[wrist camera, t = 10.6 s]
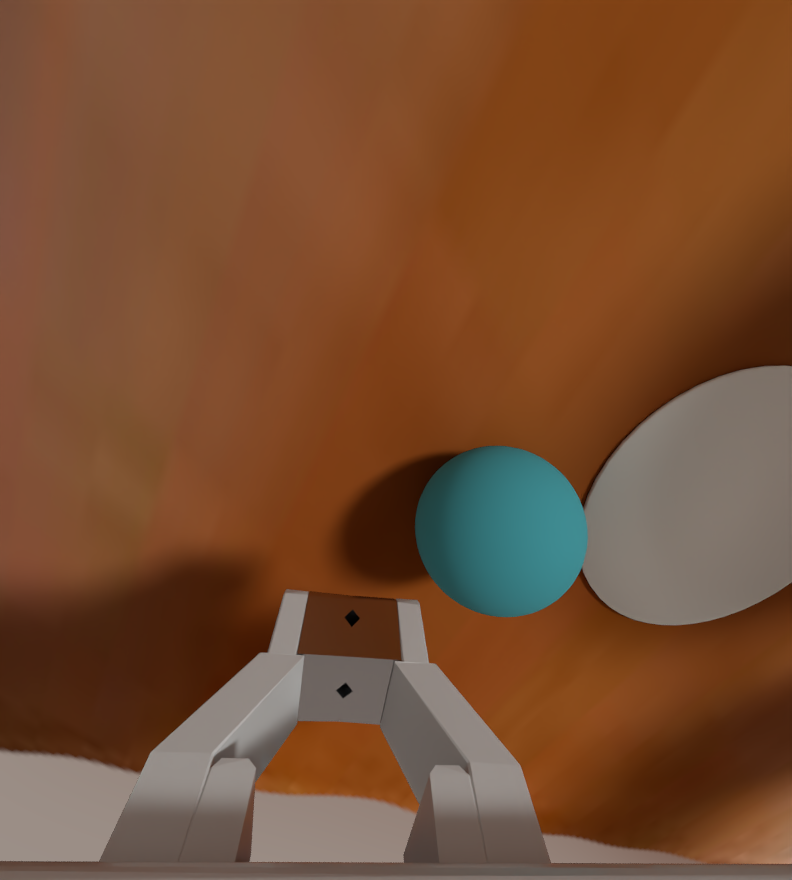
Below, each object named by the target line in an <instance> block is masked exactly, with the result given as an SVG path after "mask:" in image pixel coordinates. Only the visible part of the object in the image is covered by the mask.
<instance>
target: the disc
mask: <svg viewBox="0 0 792 880" xmlns="http://www.w3.org/2000/svg"><path fill="white" fill-rule="evenodd" d="M583 510H584V513H585V517H586V522H587V529H588V543H587V550H586V555H585V559H584V563H583V565H582V570H583V573H584V575H585V577H586V579H587V581H588V583H589V585H590V586H591V588H592V589H593V590H594V592H595V593H596V594H597V595H598V597H599V598H600V599H601V600H602V601H603V602H604V603H606V604H607V605H608V606H609V607H610V608H612V609H613V610H615V611H617V612H618V613H620V614H622V615H624V616H626V617H629V618H631V619H634V620H637V621H641V622H645V623H651V624H658V625H685V624H695V623H700V622H705V621H710V620H714V619H717V618H721V617H725V616H728V615H730V614H733V613H736V612H739V611H741V610H744V609H746V608H748V607H750V606H752V605H754V604H757V603H759V602H761V601H762V600H764V599H766V598H768V597H770V596H771V595H773V594H775V593H776V592H778V591H779V590H781V589H783V588H784V587H786V586H787V585H789V584H790V583H791V582H792V366H785V365H779V366H760V367H754V368H748V369H742V370H738V371H735V372H732V373H728V374H725V375H721V376H718V377H716V378H714V379H711V380H709V381H706V382H704V383H702V384H699V385H697V386H695V387H693V388H691V389H690V390H688V391H686V392H684V393H682V394H680V395H679V396H677V397H675V398H674V399H672V400H671V401H669V402H668V403H666V404H665V405H663V406H662V407H660V408H659V409H657V410H656V411H655V412H654V413H652V414H651V415H650V416H649V417H648V418H646V419H645V420H644V421H643V422H642V423H640V424H639V425H638V426H637V427H636V428H635V429H634V430H633V431H632V432H631V433H630V434H629V435H628V436H627V437H626V438H625V439H624V440H623V441H622V442H621V444H620V445H619V446H618V447H617V449H616V450H615V451H614V452H613V454H612V455H611V456H610V457H609V459H608V460H607V462H606V463H605V465H604V466H603V468H602V469H601V471H600V472H599V474H598V476H597V477H596V479H595V481H594V483H593V485H592V487H591V489H590V491H589V493H588V496H587V499H586V502H585V504H584V507H583Z"/></svg>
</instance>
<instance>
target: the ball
mask: <svg viewBox="0 0 792 880" xmlns="http://www.w3.org/2000/svg"><path fill="white" fill-rule="evenodd" d="M415 535H416V542H417V546H418V550H419V554H420V556H421V559H422V561H423V564H424V566H425V568H426V570H427V572H428V573H429V575H430V576H431V578H432V579H433V580H434V582H435V583H436V584H437V585H438V586H439V587H440V588H441V590H442V591H443V592H444V593H446V594H447V595H448V596H449V597H450V598H452V599H453V600H455V601H456V602H458V603H459V604H461V605H462V606H464V607H466V608H469V609H471V610H473V611H475V612H478V613H481V614H486V615H490V616H496V617H516V616H523V615H527V614H531V613H534V612H536V611H539V610H541V609H543V608H545V607H547V606H549V605H550V604H552V603H554V602H555V601H556V600H558V599H559V598H560V597H561V596H562V595H563V594H564V593H565V592H566V591H567V590H568V589H569V588H570V587H571V585H572V584H573V582H574V581H575V579H576V578H577V576H578V574H579V572H580V570H581V568H582V565H583V563H584V559H585V555H586V550H587V543H588V529H587V522H586V517H585V513H584V510H583V507H582V504H581V502H580V500H579V497H578V496H577V494H576V492H575V490H574V488H573V487H572V486H571V484H570V483H569V481H568V480H567V479H566V478H565V477H564V476H563V474H562V473H561V472H560V471H558V470H557V469H556V468H555V467H554V466H553V465H551V464H550V463H548V462H547V461H545V460H544V459H543V458H541V457H539V456H537V455H535V454H533V453H530V452H528V451H525V450H522V449H518V448H513V447H507V446H486V447H480V448H475V449H472V450H469V451H466V452H464V453H461V454H459V455H457V456H456V457H454V458H452V459H451V460H449V461H448V462H446V463H445V464H444V465H443V466H442V467H441V468H439V469H438V470H437V471H436V473H435V474H434V475H433V476H432V477H431V479H430V480H429V482H428V483H427V485H426V486H425V488H424V491H423V493H422V495H421V497H420V500H419V503H418V507H417V512H416V518H415Z"/></svg>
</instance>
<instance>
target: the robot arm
mask: <svg viewBox="0 0 792 880" xmlns="http://www.w3.org/2000/svg"><path fill="white" fill-rule="evenodd" d="M297 721H340V722H353V723H366V724H379V725H380V728H381V730H382V732H383V734H384V736H385V738H386V740H387V742H388V744H389V746H390V748H391V750H392V752H393V753H394V755H395V757H396V759H397V761H398V763H399V765H400V767H401V769H402V771H403V773H404V775H405V777H406V779H407V781H408V783H409V785H410V787H411V789H412V791H413V793H414V795H415V797H416V799H417V801H418V803H419V804H420V806H419V809H418V812H417V815H416V818H415V821H414V824H413V827H412V830H411V834H410V837H409V840H408V843H407V846H406V849H405V852H404V863H341V862H340V863H339V862H336V863H334V862H331V863H330V862H323V863H322V862H313V863H312V862H249V861H250V856H251V844H252V827H253V810H254V794H255V782H256V781H257V779H258V778H259V776H260V775H261V774H262V772H263V771H264V769H265V768H266V767H267V765H268V764H269V762H270V761H271V760H272V758H273V757H274V755H275V754H276V753H277V751H278V750H279V748H280V747H281V745H282V744H283V743H284V741H285V740H286V738H287V737H288V736H289V734H290V733H291V731H292V730H293V729H294V727H295V726H296V724H297ZM0 880H792V864H595V863H579V864H578V863H573V864H572V863H551V862H550V859H549V855H548V852H547V849H546V846H545V843H544V839H543V836H542V833H541V830H540V826H539V823H538V820H537V817H536V814H535V810H534V807H533V804H532V801H531V797H530V794H529V791H528V788H527V785H526V781H525V778H524V775H523V772H522V768H521V766H520V764H519V763H518V762H517V761H516V760H515V758H514V757H513V756H512V755H511V754H510V752H509V751H508V750H507V749H506V748H505V746H504V745H503V744H502V743H501V742H500V740H499V739H498V738H497V737H496V736H495V734H494V733H493V732H492V731H491V730H490V728H489V727H488V726H487V725H486V724H485V722H484V721H483V720H482V719H481V718H480V716H479V715H478V714H477V713H476V712H475V710H474V709H473V708H472V707H471V706H470V704H469V703H468V702H467V701H466V700H465V698H464V697H463V696H462V695H461V694H460V692H459V691H458V690H457V689H456V688H455V686H454V685H453V684H452V683H451V682H450V680H449V679H448V678H447V677H446V676H445V674H444V673H443V672H442V671H441V670H440V668H439V667H438V666H437V665H436V664H432V663H429V661H428V655H427V648H426V642H425V636H424V629H423V623H422V617H421V610H420V604H419V602H418V601H417V600H408V599H396V600H395V599H391V598H378V597H364V596H349V595H340V594H331V593H321V592H312V591H310V592H307V591H298V590H289V589H286V591H285V593H284V595H283V599H282V602H281V606H280V609H279V613H278V616H277V620H276V624H275V627H274V631H273V634H272V638H271V642H270V645H269V649H268V652H267V653H259V654H258V655H257V656H256V657H255V658H253V659H252V660H251V661H250V662H249V663H248V664H247V665H246V666H245V667H244V668H242V669H241V670H240V671H239V672H238V673H237V674H236V675H235V676H234V677H233V678H232V679H230V680H229V681H228V682H227V683H226V684H225V685H224V686H223V687H222V688H221V689H219V690H218V691H217V692H216V693H215V694H214V695H213V696H212V697H211V698H210V699H208V700H207V701H206V702H205V703H204V704H203V705H202V706H201V707H200V708H199V709H198V710H196V711H195V712H194V713H193V714H192V715H191V716H190V717H189V718H188V719H187V720H185V721H184V722H183V723H182V724H181V725H180V726H179V727H178V728H177V729H176V730H175V731H173V732H172V733H171V734H170V735H169V736H168V737H167V738H166V739H165V740H164V741H162V742H161V743H160V744H159V745H158V746H157V747H156V748H155V749H154V750H153V751H152V752H151V753H150V755H149V757H148V759H147V761H146V763H145V765H144V768H143V770H142V772H141V774H140V776H139V778H138V780H137V783H136V785H135V787H134V789H133V791H132V793H131V795H130V797H129V799H128V802H127V804H126V806H125V808H124V810H123V812H122V814H121V816H120V818H119V821H118V823H117V825H116V827H115V829H114V831H113V833H112V835H111V838H110V840H109V842H108V844H107V846H106V848H105V850H104V852H103V855H102V856H101V859H100V861H99V862H23V861H21V862H20V861H18V862H16V861H14V862H13V861H7V862H6V861H0Z"/></svg>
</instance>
